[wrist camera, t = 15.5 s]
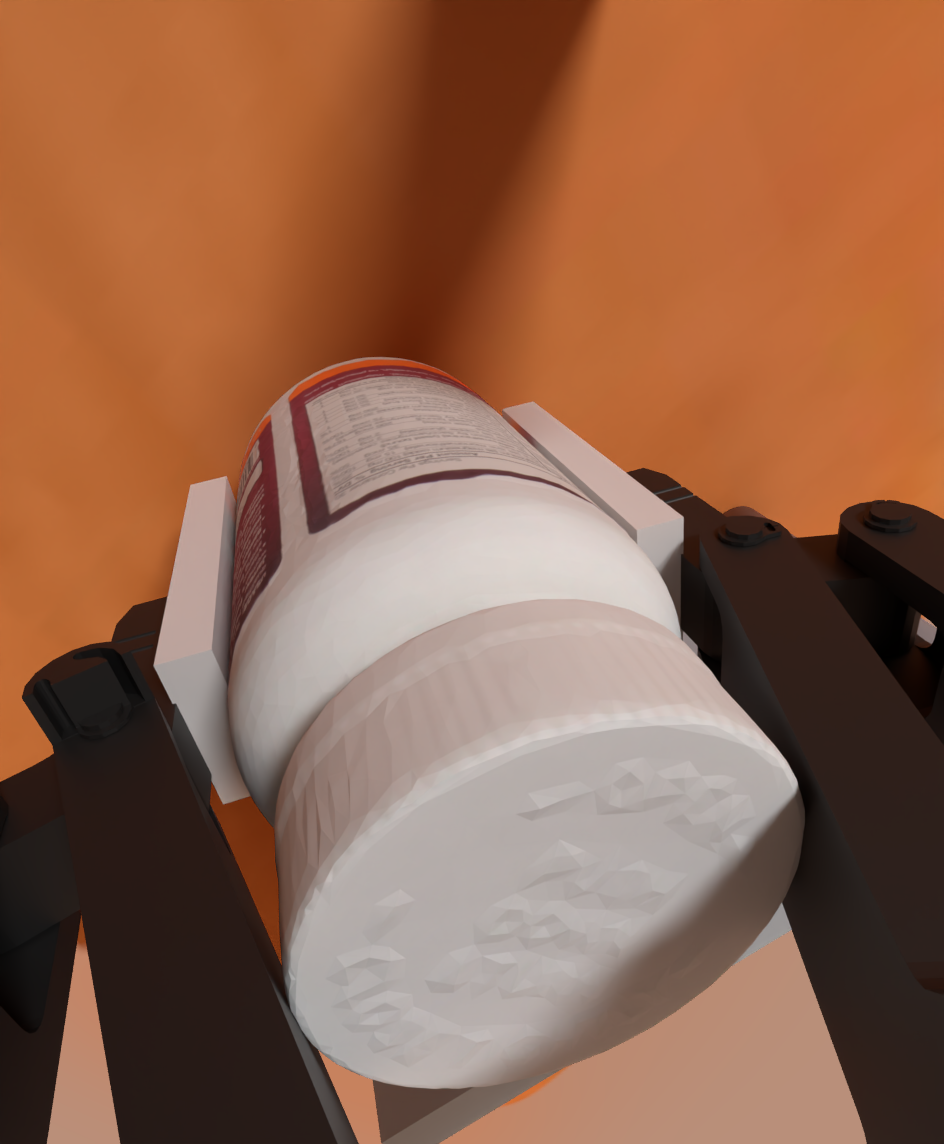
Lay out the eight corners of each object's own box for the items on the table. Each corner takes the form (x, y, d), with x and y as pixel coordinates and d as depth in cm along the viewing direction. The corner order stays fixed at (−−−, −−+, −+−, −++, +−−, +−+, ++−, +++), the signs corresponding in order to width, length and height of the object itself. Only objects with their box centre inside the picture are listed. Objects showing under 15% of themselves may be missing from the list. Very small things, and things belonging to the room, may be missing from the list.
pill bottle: (364, 644, 18) (492, 1171, 8) (173, 478, 15) (28, 1032, 5) (553, 493, 17) (922, 876, 8) (397, 283, 14) (708, 503, 4)
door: (752, 495, 21) (1148, 742, 12) (772, 559, 22) (1139, 822, 13) (324, 764, 21) (381, 1204, 12) (372, 809, 23) (454, 1233, 14)
